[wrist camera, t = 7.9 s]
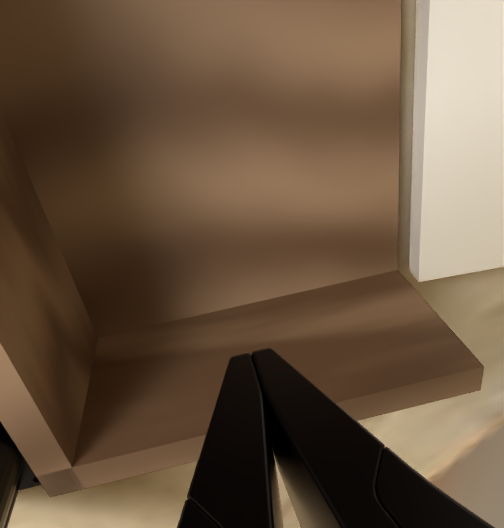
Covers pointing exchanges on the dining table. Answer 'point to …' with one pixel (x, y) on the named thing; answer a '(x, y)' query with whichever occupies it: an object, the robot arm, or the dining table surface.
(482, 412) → the dining table surface
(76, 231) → the crate
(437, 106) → the tailgate
